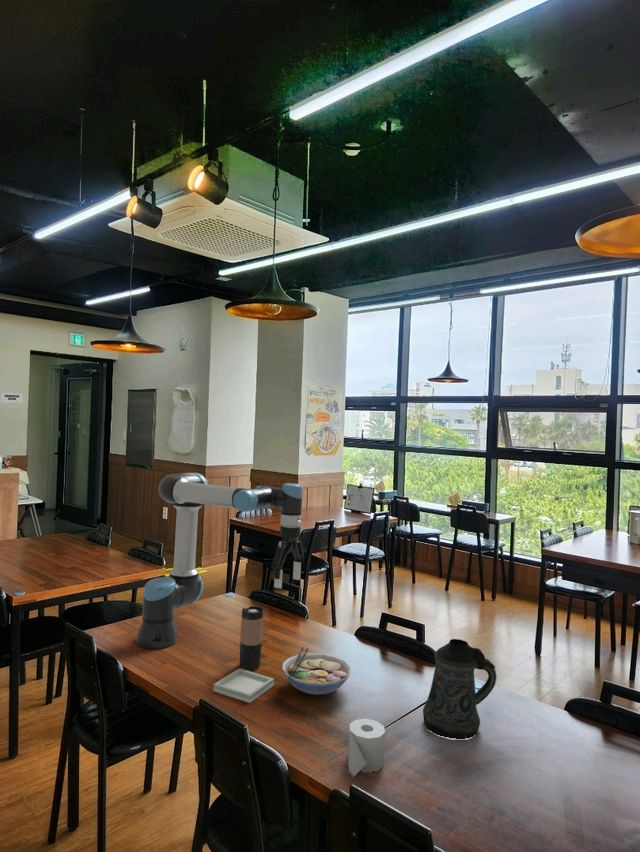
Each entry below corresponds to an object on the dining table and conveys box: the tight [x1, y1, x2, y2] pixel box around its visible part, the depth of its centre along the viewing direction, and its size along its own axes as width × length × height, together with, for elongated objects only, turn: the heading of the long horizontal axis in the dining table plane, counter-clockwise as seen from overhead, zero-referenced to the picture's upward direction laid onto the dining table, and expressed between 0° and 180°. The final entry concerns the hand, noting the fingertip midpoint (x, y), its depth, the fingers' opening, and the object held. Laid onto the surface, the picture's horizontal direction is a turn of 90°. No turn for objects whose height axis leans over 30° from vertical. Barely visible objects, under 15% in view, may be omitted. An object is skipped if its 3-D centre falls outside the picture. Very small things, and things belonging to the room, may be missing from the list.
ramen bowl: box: [281, 646, 352, 696], centre depth 180 cm, size 25×23×8 cm
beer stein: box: [422, 638, 497, 739], centre depth 162 cm, size 16×19×25 cm
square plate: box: [213, 667, 275, 704], centre depth 178 cm, size 14×14×2 cm
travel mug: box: [239, 605, 264, 671], centre depth 195 cm, size 8×8×20 cm
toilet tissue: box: [347, 718, 386, 777], centre depth 140 cm, size 9×13×9 cm
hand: (287, 583), depth 202 cm, fingers open, 13 cm apart
